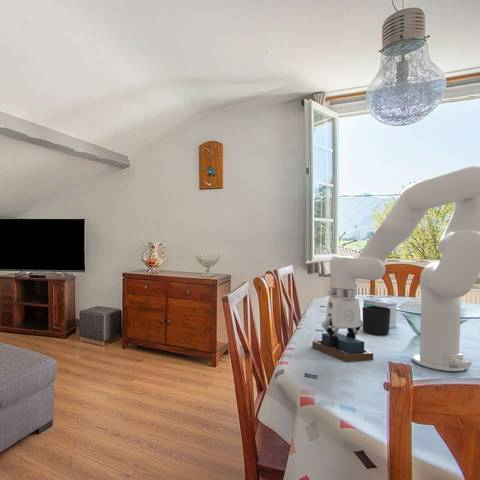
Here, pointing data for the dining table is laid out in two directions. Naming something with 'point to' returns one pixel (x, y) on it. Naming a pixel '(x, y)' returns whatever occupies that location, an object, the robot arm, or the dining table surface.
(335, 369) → the dining table surface
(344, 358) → the frame
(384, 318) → the pen holder
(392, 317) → the light bulb box
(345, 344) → the back pad
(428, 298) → the robot arm
